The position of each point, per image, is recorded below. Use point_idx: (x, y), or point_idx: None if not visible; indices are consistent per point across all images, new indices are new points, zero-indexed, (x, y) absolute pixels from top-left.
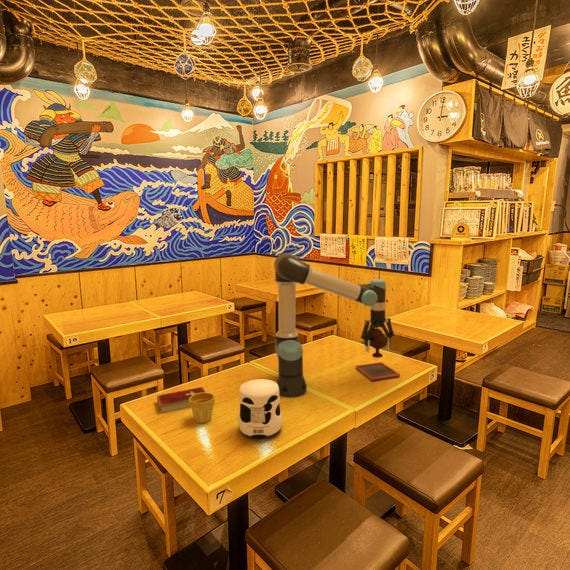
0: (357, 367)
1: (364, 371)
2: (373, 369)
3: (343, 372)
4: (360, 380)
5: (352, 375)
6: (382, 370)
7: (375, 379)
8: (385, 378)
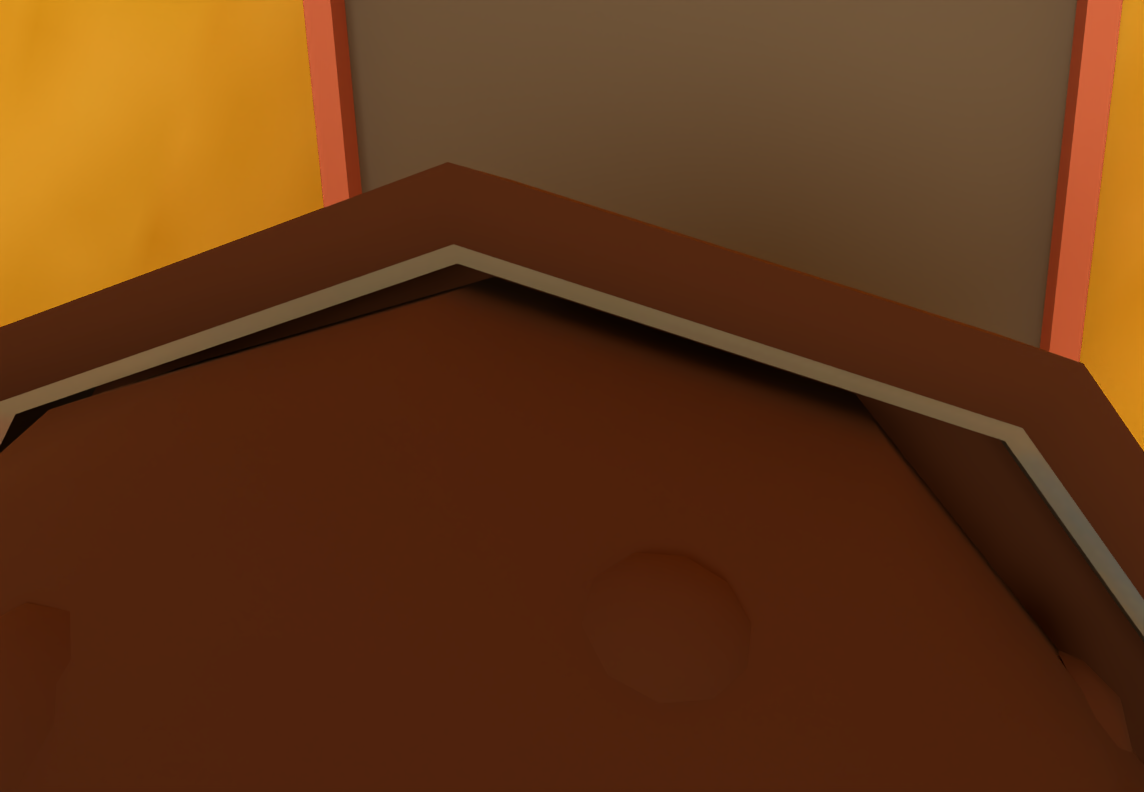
0: (306, 26)
1: None
2: (666, 201)
3: (15, 27)
4: None
5: (153, 245)
6: None
7: None
8: None
